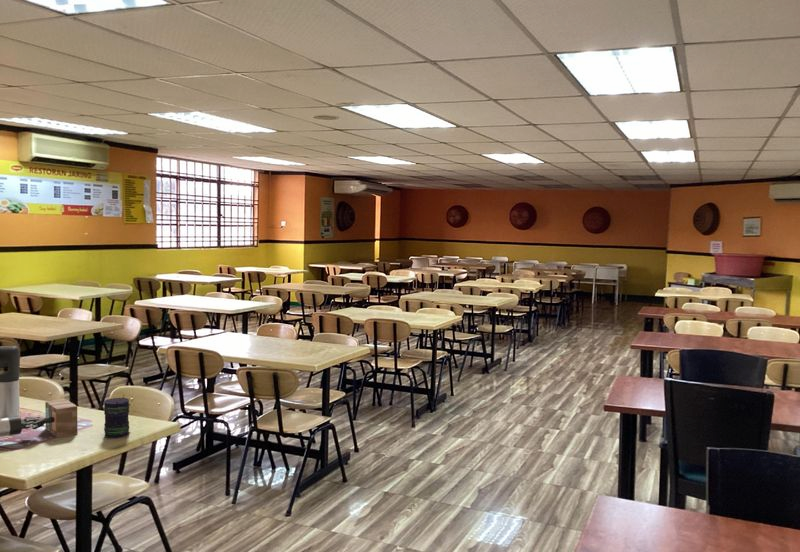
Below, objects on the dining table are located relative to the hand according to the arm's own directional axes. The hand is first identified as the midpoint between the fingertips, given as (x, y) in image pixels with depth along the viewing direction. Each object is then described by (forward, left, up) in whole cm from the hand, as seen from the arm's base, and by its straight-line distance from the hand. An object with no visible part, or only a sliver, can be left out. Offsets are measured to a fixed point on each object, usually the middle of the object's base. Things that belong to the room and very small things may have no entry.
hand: (53, 419), depth 272 cm
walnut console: (-5, +4, -7) cm, 9 cm away
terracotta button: (0, +3, -5) cm, 6 cm away
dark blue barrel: (+16, +20, -7) cm, 27 cm away
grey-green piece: (-10, +3, -5) cm, 11 cm away
